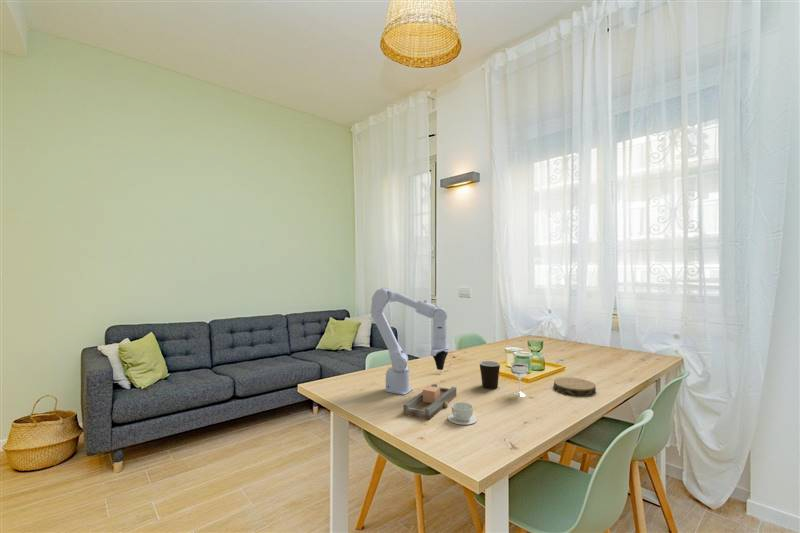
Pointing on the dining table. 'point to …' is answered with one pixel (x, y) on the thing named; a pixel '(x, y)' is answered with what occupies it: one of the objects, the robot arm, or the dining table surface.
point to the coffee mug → (489, 374)
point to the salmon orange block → (431, 394)
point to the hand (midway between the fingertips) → (440, 369)
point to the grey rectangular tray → (429, 404)
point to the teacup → (462, 414)
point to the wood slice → (574, 386)
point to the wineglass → (519, 374)
